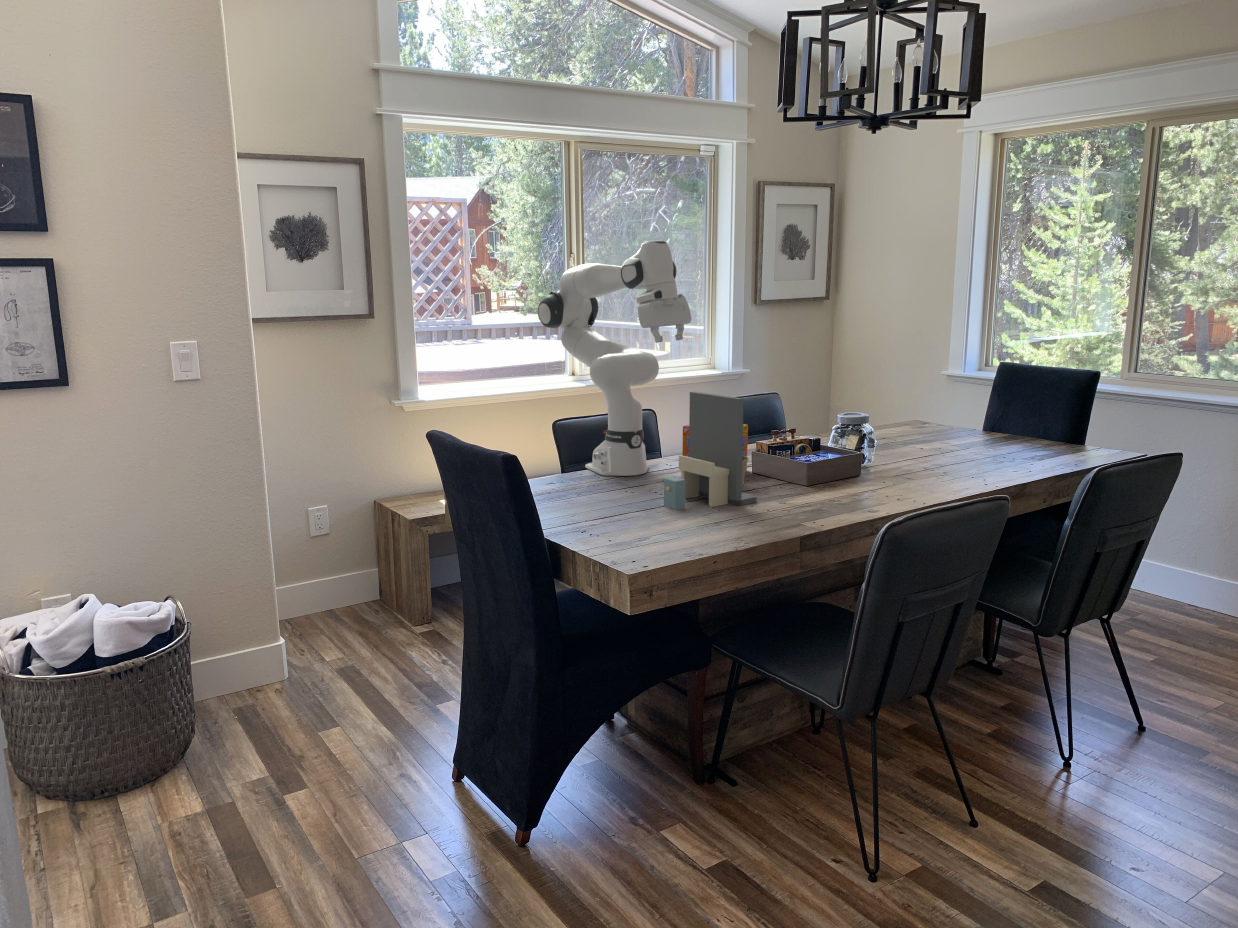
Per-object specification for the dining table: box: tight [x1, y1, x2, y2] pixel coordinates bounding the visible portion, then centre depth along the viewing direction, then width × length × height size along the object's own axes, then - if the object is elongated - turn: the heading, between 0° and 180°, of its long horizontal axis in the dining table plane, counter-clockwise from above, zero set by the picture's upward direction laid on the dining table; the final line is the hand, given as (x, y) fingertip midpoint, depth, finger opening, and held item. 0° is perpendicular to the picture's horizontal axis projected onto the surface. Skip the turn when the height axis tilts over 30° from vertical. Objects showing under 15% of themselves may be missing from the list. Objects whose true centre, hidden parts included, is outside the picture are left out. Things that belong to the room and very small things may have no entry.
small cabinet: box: [663, 476, 686, 511], centre depth 251 cm, size 5×4×8 cm
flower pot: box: [742, 456, 750, 487], centre depth 276 cm, size 9×9×9 cm
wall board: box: [678, 391, 758, 508], centre depth 258 cm, size 20×14×30 cm
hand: (669, 341), depth 269 cm, fingers open, 8 cm apart
